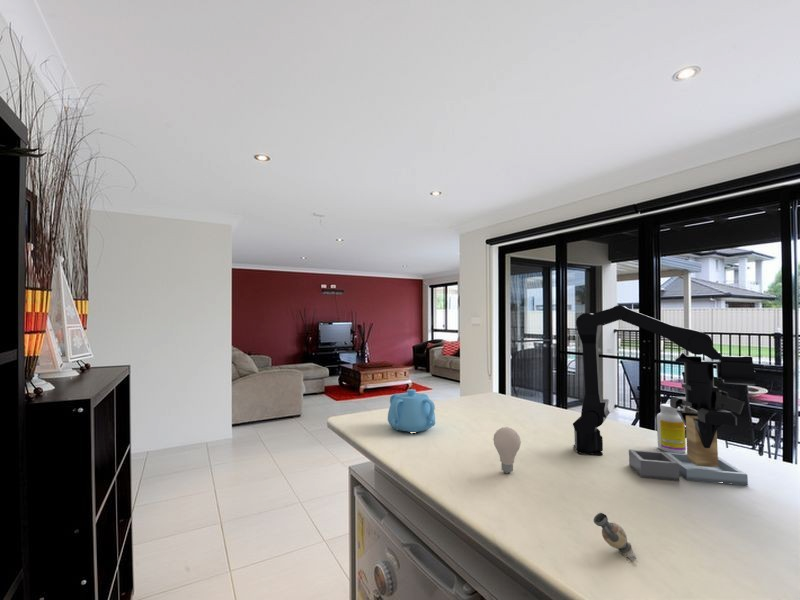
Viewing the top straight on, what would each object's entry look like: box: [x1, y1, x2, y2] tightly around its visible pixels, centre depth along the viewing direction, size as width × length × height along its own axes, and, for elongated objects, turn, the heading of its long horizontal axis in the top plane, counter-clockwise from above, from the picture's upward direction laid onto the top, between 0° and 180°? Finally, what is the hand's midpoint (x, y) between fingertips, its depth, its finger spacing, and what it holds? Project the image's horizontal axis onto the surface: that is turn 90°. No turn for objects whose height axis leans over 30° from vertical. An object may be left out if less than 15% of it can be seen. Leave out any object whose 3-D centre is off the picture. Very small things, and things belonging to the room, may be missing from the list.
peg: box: [685, 415, 719, 467], centre depth 93 cm, size 4×4×11 cm
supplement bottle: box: [656, 403, 687, 454], centre depth 110 cm, size 7×7×13 cm
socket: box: [628, 449, 680, 482], centre depth 93 cm, size 8×8×4 cm
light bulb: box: [492, 426, 522, 474], centre depth 93 cm, size 7×7×11 cm
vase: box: [592, 512, 638, 564], centre depth 61 cm, size 5×5×6 cm
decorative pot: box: [387, 388, 436, 433], centre depth 131 cm, size 16×16×14 cm
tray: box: [663, 451, 749, 486], centre depth 93 cm, size 12×12×2 cm
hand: (701, 444), depth 93 cm, fingers closed on peg, 4 cm apart
